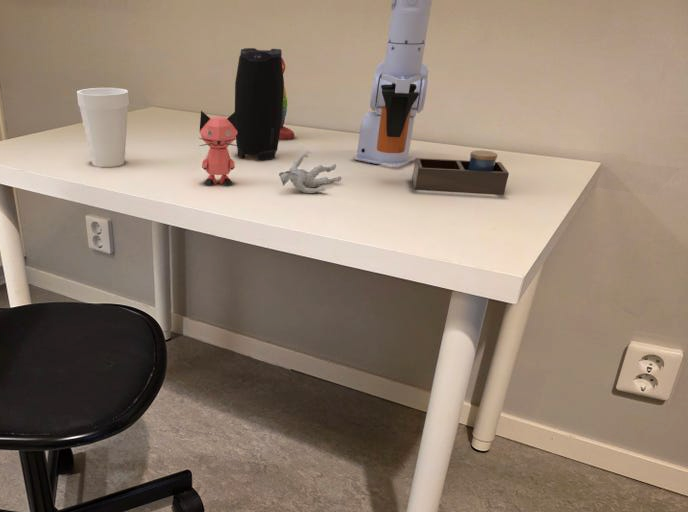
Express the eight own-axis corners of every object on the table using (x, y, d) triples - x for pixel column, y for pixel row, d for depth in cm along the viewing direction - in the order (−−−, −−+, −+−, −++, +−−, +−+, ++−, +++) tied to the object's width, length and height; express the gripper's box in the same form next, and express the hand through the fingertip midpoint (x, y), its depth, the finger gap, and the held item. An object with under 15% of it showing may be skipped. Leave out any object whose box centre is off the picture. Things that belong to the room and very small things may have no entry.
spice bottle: (371, 150, 108) (378, 96, 103) (384, 145, 111) (392, 93, 106) (396, 154, 105) (404, 99, 101) (409, 149, 108) (417, 96, 103)
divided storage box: (411, 181, 113) (415, 157, 111) (495, 186, 111) (500, 162, 109) (414, 193, 107) (418, 168, 105) (503, 198, 105) (509, 173, 103)
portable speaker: (228, 152, 132) (230, 48, 122) (271, 150, 134) (277, 47, 124) (240, 162, 125) (243, 51, 115) (286, 159, 127) (292, 50, 117)
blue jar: (459, 187, 108) (466, 153, 105) (469, 182, 111) (476, 149, 108) (484, 192, 106) (492, 157, 103) (493, 186, 108) (501, 153, 105)
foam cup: (141, 160, 126) (137, 89, 119) (116, 171, 119) (110, 96, 112) (100, 155, 130) (94, 86, 123) (74, 165, 122) (66, 93, 116)
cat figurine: (197, 187, 110) (197, 114, 103) (198, 177, 115) (197, 106, 109) (239, 187, 110) (240, 114, 103) (237, 177, 115) (239, 106, 109)
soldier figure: (348, 193, 110) (308, 184, 102) (326, 208, 113) (286, 200, 105) (332, 155, 112) (292, 142, 103) (311, 170, 115) (270, 159, 106)
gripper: (437, 47, 92) (420, 144, 99) (429, 39, 105) (415, 125, 112) (387, 46, 94) (374, 141, 101) (384, 38, 106) (373, 124, 113)
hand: (392, 133), depth 106 cm, fingers closed on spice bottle, 4 cm apart
